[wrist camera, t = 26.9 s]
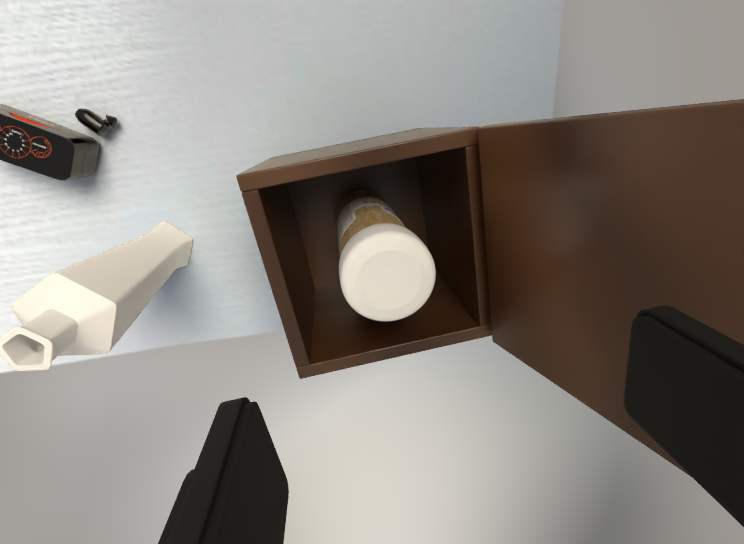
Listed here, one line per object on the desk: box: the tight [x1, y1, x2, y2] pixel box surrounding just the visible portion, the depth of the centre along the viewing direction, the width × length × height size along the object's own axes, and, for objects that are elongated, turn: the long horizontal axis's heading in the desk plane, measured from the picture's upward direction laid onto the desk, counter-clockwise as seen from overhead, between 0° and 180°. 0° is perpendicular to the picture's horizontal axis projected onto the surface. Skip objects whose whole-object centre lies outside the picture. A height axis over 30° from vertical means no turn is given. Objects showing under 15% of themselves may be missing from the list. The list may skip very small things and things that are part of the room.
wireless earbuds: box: [0, 104, 117, 180], centre depth 24 cm, size 5×7×3 cm, turn 67°
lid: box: [478, 99, 744, 477], centre depth 14 cm, size 12×12×6 cm
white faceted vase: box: [0, 221, 193, 371], centre depth 22 cm, size 5×4×15 cm
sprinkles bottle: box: [335, 190, 436, 321], centre depth 23 cm, size 5×5×14 cm
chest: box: [237, 127, 492, 379], centre depth 25 cm, size 12×12×12 cm
